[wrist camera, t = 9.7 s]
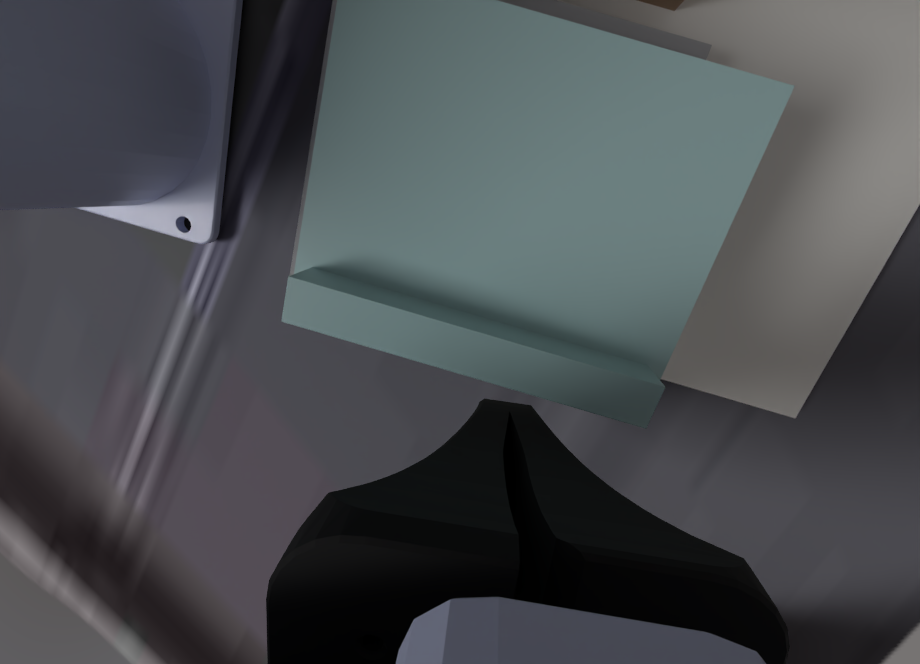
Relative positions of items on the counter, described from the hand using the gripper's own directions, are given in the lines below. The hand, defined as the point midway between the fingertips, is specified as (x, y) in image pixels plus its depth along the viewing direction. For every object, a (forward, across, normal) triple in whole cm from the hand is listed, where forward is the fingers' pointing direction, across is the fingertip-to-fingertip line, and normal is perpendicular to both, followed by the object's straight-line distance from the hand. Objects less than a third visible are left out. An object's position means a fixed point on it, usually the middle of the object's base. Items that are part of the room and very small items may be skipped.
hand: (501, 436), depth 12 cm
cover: (0, +1, -6) cm, 6 cm away
